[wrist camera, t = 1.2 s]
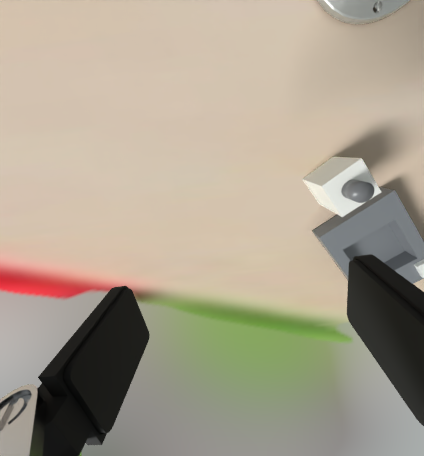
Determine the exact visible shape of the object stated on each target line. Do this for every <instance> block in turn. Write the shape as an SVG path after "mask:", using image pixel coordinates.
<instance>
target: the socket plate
mask: <svg viewBox="0 0 424 456" xmlns="http://www.w3.org/2000/svg"><path fill="white" fill-rule="evenodd" d="M379 189H380V190H381V193H379V194H378V195H376V196H375V197H373V198H372V199H370V200H368V201H367V202H365V203H364V204H362V205H361V206H359V207H357V208H356V209H354V210H353V211H351V212H350V213H348V214H346V215H345V216H343V217H341V216H339V215H336V216H334V217H333V218H331V219H330V220H328V221H327V222H325V223H323V224H322V225H320V226H319V227H317V228H316V229H314V230H313V231H312V232H313V233H314V234H315V236H316V237H317V238H318V240H319V241H320V243H321V244H322V245H323V247H324V248H325V249H326V251H327V252H328V254H329V255H330V256H331V258H332V259H333V261H334V262H335V263H336V265H337V266H338V267H339V269H340V270H341V272H342V273H343V274H344V276H345V277H346V279H347V280H348V270H349V262H350V261H352V260H353V258H354V257H355V256H361V255H369V254H372V255H374V256H376V257H377V258H378V259H380V260H381V261H382V262H384V263H385V264H386V265H388V266H389V267H390V268H392V269H393V270H394V271H396V272H397V273H398V274H400V275H401V276H403V277H404V278H405V279H407V280H408V281H409V282H411V283H412V284H413V283H415V282H417V281H419V280H421V279H423V278H424V241H423V239H422V237H421V236H420V234H419V232H418V230H417V228H416V227H415V225H414V223H413V221H412V220H411V218H410V216H409V214H408V212H407V211H406V209H405V207H404V205H403V204H402V202H401V200H400V198H399V196H398V195H397V193H396V191H395V190H392V189H388V188H383V187H379Z"/></svg>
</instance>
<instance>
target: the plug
mask: <svg viewBox="0 0 424 456" xmlns="http://www.w3.org/2000/svg"><path fill="white" fill-rule="evenodd" d="M302 180H303V181H304V182H305V184H306V185H307V187H308V188H309V190H310V191H311V193H312V194H313V196H314V197H315V198H316V200H317V201H318V203H319V204H320V205H322V206H323V207H325V208H327V209H329V210H330V211H332V212H334V213H336V214H337V215H339V216H341V217H343V216H345V215H346V214H348V213H350V212H351V211H353V210H354V209H356V208H357V207H359V206H361V205H362V204H364V203H365V202H367V201H368V200H370V199H372V198H373V197H375V196H376V195H378V194H379V193H381V190H380V189H379V187H378V185H377V184H376V182H375V180H374V178H373V177H372V175H371V173H370V172H369V170H368V168H367V166H366V165H365V163H364V161H363V160H362V158H349V157H332V158H330V159H329V160H328V161H326V162H325V163H323V164H322V165H321V166H319V167H318V168H317V169H315V170H314V171H313V172H311V173H310V174H308V175H307V176H306V177H304V178H303V179H302Z"/></svg>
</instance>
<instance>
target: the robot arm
mask: <svg viewBox="0 0 424 456" xmlns="http://www.w3.org/2000/svg"><path fill="white" fill-rule="evenodd" d="M317 1H318V2H319V4H320V5H321V6H322V8H323V9H324V10H325V11H326V12H327V13H328V14H330V15H331V16H332V17H333V18H335V19H337V20H340V21H342V22H344V23H350V24H368V23H371V22H375V21H378V20H381V19H383V18H385V17H387V16H389V15H391V14H393V13H394V12H396V11H397V10H398V9H400V8H401V7H402V6H404V5H405V4H406V3H407V2H409V1H410V0H317ZM373 11H374V12H373ZM347 316H348V320H349V322H350V323H351V325H352V326H353V328H354V329H355V331H356V332H357V333H358V335H359V336H360V338H361V339H362V341H363V342H364V343H365V345H366V346H367V348H368V349H369V351H370V352H371V353H372V355H373V357H374V358H375V359H376V361H377V362H378V364H379V365H380V367H381V368H382V370H383V371H384V372H385V374H386V375H387V377H388V378H389V380H390V381H391V383H392V384H393V385H394V387H395V388H396V390H397V391H398V393H399V394H400V396H401V397H402V398H403V400H404V401H405V403H406V404H407V406H408V407H409V408H410V410H411V411H412V413H413V414H414V416H415V417H416V418H417V420H418V421H419V422H420V423H421V424H422V425H423V426H424V292H423V291H421V290H420V289H419V288H417V287H416V286H415V285H413V284H412V283H411V282H409V281H408V280H407V279H405V278H404V277H403V276H401V275H400V274H398V273H397V272H396V271H394V270H393V269H392V268H390V267H389V266H388V265H386V264H385V263H384V262H382V261H381V260H380V259H378V258H377V257H376V256H374V255H372V254H369V255H361V256H355V257H354V258H353V260H352V261H350V262H349V270H348V298H347ZM148 340H149V331H148V329H147V326H146V324H145V321H144V319H143V316H142V314H141V311H140V309H139V306H138V304H137V302H136V299H135V297H134V294H133V292H132V290H131V289H129V288H128V287H127V286H121V287H114V288H112V289H111V290H110V291H109V292H108V294H107V295H106V296H105V297H104V299H103V300H102V301H101V302H100V303H99V305H98V306H97V307H96V308H95V309H94V311H93V312H92V313H91V314H90V316H89V317H88V318H87V319H86V320H85V321H84V323H83V324H82V325H81V326H80V327H79V329H78V330H77V331H76V332H75V333H74V335H73V336H72V337H71V338H70V340H69V341H68V342H67V343H66V344H65V346H64V347H63V348H62V349H61V350H60V351H59V353H58V354H57V355H56V356H55V358H54V359H53V360H52V361H51V362H50V364H49V365H48V366H47V367H46V368H45V370H44V371H43V372H42V373H41V375H40V376H39V377H38V378H39V379H40V381H41V382H42V384H41V385H40V387H39V388H37V387H36V386H35V385H25V386H21V387H19V388H17V389H15V390H13V391H12V392H10V393H9V394H7V395H6V396H4V397H3V398H2V399H0V456H82V449H83V447H84V444H85V443H87V445H102V443H103V441H104V439H105V436H106V434H107V433H108V432H109V431H110V430H111V429H112V427H113V425H114V422H115V420H116V418H117V415H118V413H119V410H120V408H121V405H122V403H123V401H124V398H125V396H126V394H127V391H128V389H129V386H130V384H131V381H132V379H133V377H134V374H135V372H136V369H137V367H138V364H139V362H140V360H141V357H142V355H143V353H144V350H145V348H146V345H147V343H148Z"/></svg>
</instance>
